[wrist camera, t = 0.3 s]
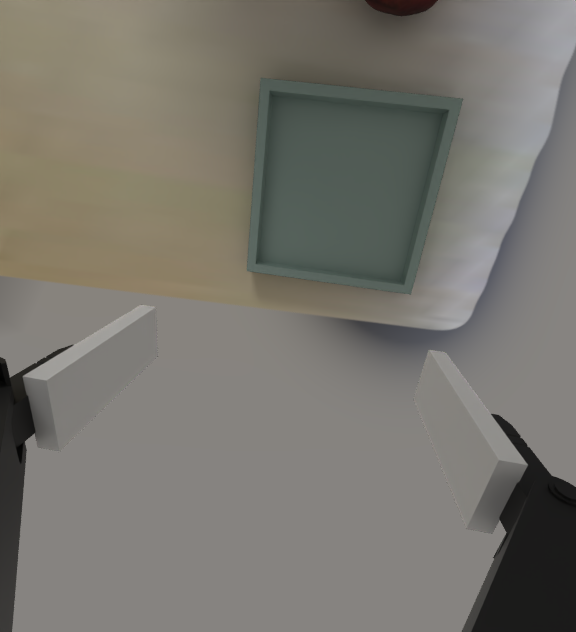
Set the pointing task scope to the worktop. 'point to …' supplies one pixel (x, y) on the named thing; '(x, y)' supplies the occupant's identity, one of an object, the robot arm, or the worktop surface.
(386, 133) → the tray
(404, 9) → the fruit
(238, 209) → the worktop surface
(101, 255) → the worktop surface
